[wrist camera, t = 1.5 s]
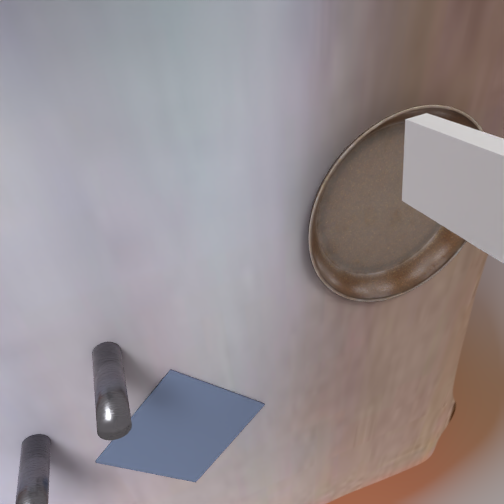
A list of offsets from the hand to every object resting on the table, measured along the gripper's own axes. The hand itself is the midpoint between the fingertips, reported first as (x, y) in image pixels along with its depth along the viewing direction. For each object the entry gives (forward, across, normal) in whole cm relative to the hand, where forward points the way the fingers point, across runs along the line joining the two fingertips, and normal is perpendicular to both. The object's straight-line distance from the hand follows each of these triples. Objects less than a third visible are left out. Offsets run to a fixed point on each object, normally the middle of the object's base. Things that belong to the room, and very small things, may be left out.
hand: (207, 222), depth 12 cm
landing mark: (+23, -5, -38) cm, 44 cm away
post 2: (+23, -9, -23) cm, 34 cm away
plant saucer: (+24, +22, -17) cm, 36 cm away
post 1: (+23, -18, -31) cm, 43 cm away
